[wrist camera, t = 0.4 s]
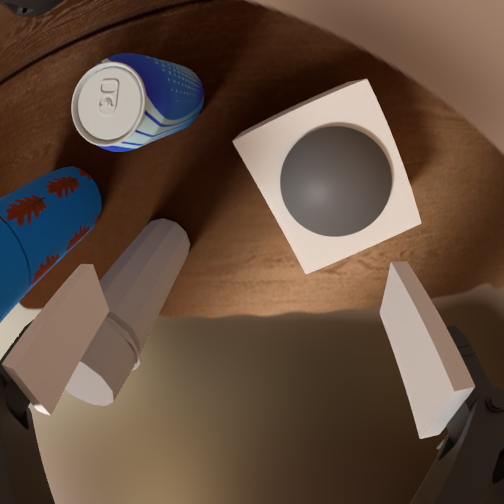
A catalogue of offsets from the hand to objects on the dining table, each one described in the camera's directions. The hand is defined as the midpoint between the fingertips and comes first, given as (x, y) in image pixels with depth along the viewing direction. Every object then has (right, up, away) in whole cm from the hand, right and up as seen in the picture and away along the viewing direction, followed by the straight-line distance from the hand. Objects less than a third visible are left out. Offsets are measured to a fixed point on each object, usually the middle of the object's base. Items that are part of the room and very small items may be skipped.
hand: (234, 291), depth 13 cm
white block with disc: (+9, +12, +23) cm, 27 cm away
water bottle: (-12, +3, +30) cm, 32 cm away
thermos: (-26, +9, +27) cm, 38 cm away
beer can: (-9, +20, +20) cm, 30 cm away
